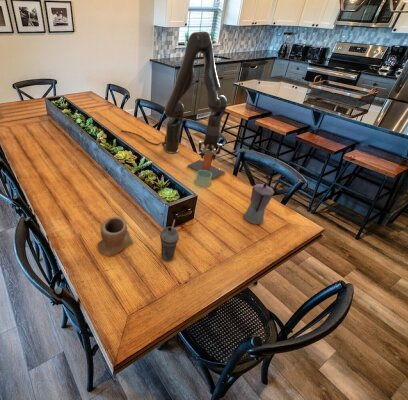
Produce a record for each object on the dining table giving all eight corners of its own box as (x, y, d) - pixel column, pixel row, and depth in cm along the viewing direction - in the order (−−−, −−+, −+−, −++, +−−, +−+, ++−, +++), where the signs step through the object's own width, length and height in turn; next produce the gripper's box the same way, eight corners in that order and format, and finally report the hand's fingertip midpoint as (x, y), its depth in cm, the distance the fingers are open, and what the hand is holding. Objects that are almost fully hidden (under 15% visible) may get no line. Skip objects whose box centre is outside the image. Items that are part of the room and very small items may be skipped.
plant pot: (199, 168, 167) (202, 151, 160) (205, 165, 170) (208, 149, 163) (206, 171, 163) (209, 155, 157) (212, 168, 167) (215, 152, 160)
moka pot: (264, 212, 136) (276, 179, 124) (263, 232, 125) (276, 197, 113) (245, 208, 139) (255, 175, 127) (242, 226, 127) (253, 192, 115)
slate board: (187, 167, 170) (187, 165, 169) (199, 161, 177) (199, 159, 176) (212, 180, 159) (213, 178, 158) (224, 173, 166) (225, 171, 165)
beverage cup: (157, 250, 112) (160, 213, 100) (175, 250, 113) (179, 213, 101) (159, 264, 106) (162, 226, 94) (177, 263, 107) (182, 226, 95)
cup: (192, 182, 156) (193, 173, 152) (201, 177, 161) (203, 168, 157) (203, 189, 151) (205, 179, 147) (213, 183, 156) (215, 174, 152)
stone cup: (109, 264, 105) (106, 236, 96) (93, 246, 112) (90, 219, 103) (140, 246, 113) (140, 219, 104) (123, 231, 120) (122, 204, 111)
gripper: (225, 131, 155) (220, 157, 165) (200, 128, 157) (196, 154, 167) (225, 136, 149) (219, 163, 159) (199, 133, 151) (195, 160, 161)
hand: (207, 158), depth 163 cm, fingers closed on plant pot, 6 cm apart
